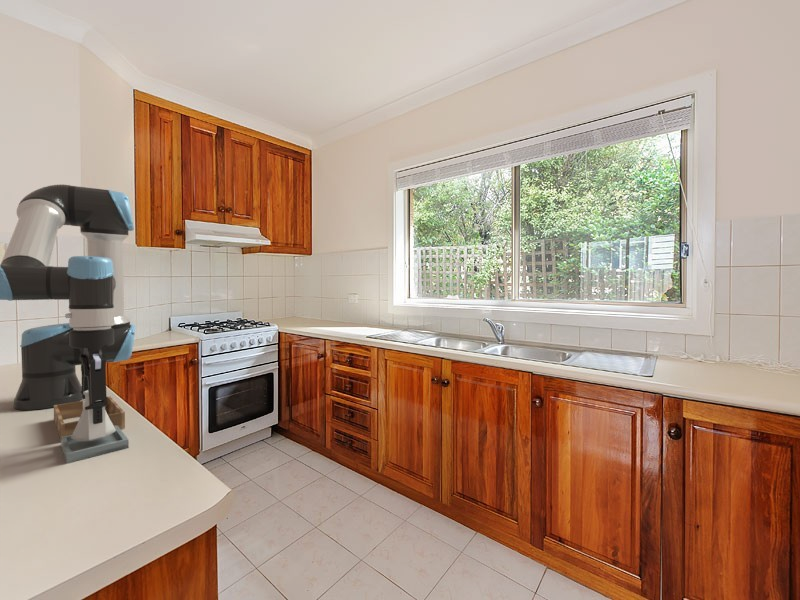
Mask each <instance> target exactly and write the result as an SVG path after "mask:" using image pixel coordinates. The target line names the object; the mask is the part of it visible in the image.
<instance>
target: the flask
mask: <svg viewBox="0 0 800 600" xmlns="http://www.w3.org/2000/svg"><path fill="white" fill-rule="evenodd" d="M83 394H84V395H85V399H84V400H85V404H84V408H83V411H82V414H81V416H79V419H78V420H77V421H78V423H77V426H76V428H75V430H74V432H73V434H72V437H71V439H73V440H75V441H93V440H96V439H100V438H103V437H100V438H96V439H91V440H89V430H88V410H85V407H87V406H89V392H88V390H87V391H84V392H83ZM99 401H101V400H99ZM107 412H108V411H106V410H105V428H106V436H109V435H110V434H112V433H114V432H115V431H116V429H115V427H114V426H113V424H112V422H111V420H110V418H109V416H108V415H109V414H108V413H107ZM106 436H105V437H106Z"/></svg>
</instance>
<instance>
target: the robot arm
mask: <svg viewBox="0 0 800 600" xmlns="http://www.w3.org/2000/svg"><path fill="white" fill-rule="evenodd" d="M16 216H17V218H18V220H17V223H16V225H15V228H14V231H13V233H12V235H11V237H10V241H9V243H8V244H7V247H6V250H5V252H4V255H3V257H2V260H1V262H0V301H1V300H2V301H9V302H10V301H38V300H40V301H41V300H46V301H47V300H48V301H49V300H51V301H52V300H58V301H59V300H64V301H65V300H66V301H67V300H68V313H65V314H64V317H65V318H66V319H69V320H68V322H67V323H64V322H63V323H56V324H49V325H44V326H43V325H42V326H37V327H32V328H28V329H26V330H24V331H22V334H21V342H20V348H21V349H20V350H21V377H22V378H21V381H20V382H21V383H20V384H19V386H18V389H17V392H16V395H15V397H14V399H13V408H14V409H15V410H21V411H32V410H33V411H34V410H35V411H36V410H44V409H51V408H54V405H59V404H65V403H72V402H78V401H83V408H84V404H85V395H84V394H83V392H84V391H87V390H88V392H89V406H87V407H85V410H88V430H89V440H91V439H96V438H100V437H105V436H106V428H105V406H106V405H107V397H108V396H107V375H106V373H107V371H106V369H107V368H106V363H107V364H108V363H112V364H113V363H115V362H116V363H117V362H125V361H127V360H129V359H131V357H132V353H133V347H134V342H135V333H136V325H134V324H131V321H130V318H128V317H127V316H126V315H125V301H124V299H125V297H124V295H125V293H124V292H125V291H124V250H123V249H124V247H123V246H124V245H123V244H124V243H123V242H124V240H126V239H127V238H128V237H129V231H130V232H131V231H132V232H133V231H134V223H133V222H134V221H133V217H132V209H131V205H130V198H129V197H128V195H127V194H126V193H124V192H122V191H121V192H120V191H115V190H110V189H103V188H102V189H101V188H93V187H85V186H76V185H70V184H52V185H47V186H43V187H40V188H37V189H36V190H33V191H32V192H30V193H29V194H27V195H25V196H24V197H23V198H22V199H21V200H20V201H19V203H18V205H17V208H16ZM63 226H71V227H72V226H73V227H80V228H79V231H80V232H79V233H80V234H81V235H82V236H84V237H85V238H86V241H87V244H86V246H87V255H84V256H83V255H74V256H71V257H69V258H68V261H67V266H53V265H52V266H51V265H50V262H51V258H52V254H53V251H54V246H55V242H56V238H57V234H58V230H59V229H62V227H63ZM76 366H80V371H81V382H80V380H79V378H78V375H77V374H76ZM99 400H101V401H99Z"/></svg>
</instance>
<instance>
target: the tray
mask: <svg viewBox="0 0 800 600" xmlns="http://www.w3.org/2000/svg"><path fill="white" fill-rule="evenodd" d="M114 427H115V429H116V431H115V432H114V433H112V434H110V435H109V436H106V437H103V438H100V439H96V440H93V441H75V440H73V439H71V437H72V435H69V436H64V437H61V439H60V447H61V451H62V453H63V456H64V459H65V462H66V464H70V463H73V462H77V461H81V460H86V459H90V458H93V457H94V458H95V457H97V456H102V455H105V454H110V453H113V452H116V451H121V450H124V449H129V438H128V437H127V435H126V434H125V433H124V432H123V431H122V429H120V428H119V427H118V426H117V425H116V426H114Z"/></svg>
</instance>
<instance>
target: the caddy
mask: <svg viewBox="0 0 800 600" xmlns="http://www.w3.org/2000/svg"><path fill="white" fill-rule="evenodd" d="M105 410H106V412H108V413H109V414H108V416H109V418H110V420H111V422H112V424H113V426H116V425H117V426H118V427H119V428H120V429H121V430H124V429H125V428H126V417H125V416H126V415H125V413H126V411H124V409H123V408H121V406H120V405H119V404H118V403H117V402H116V401H115V400H114V399H113V397H111V396H109V395H108V396H107V405H106V406H105ZM82 411H83V400H79V401H77V402H72V403H65V404H59V405H54V407H53V421H54V425H55V427H56V431H57V433H58V436H59V440H61V437H64V436H69V435H72V434H73V432H74V430H75V428H76V426H77V423H78V421H79V420H74V421H70V422H64V420H68V419H74V418H78V417H79V418H80V416H81V414H82Z"/></svg>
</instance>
